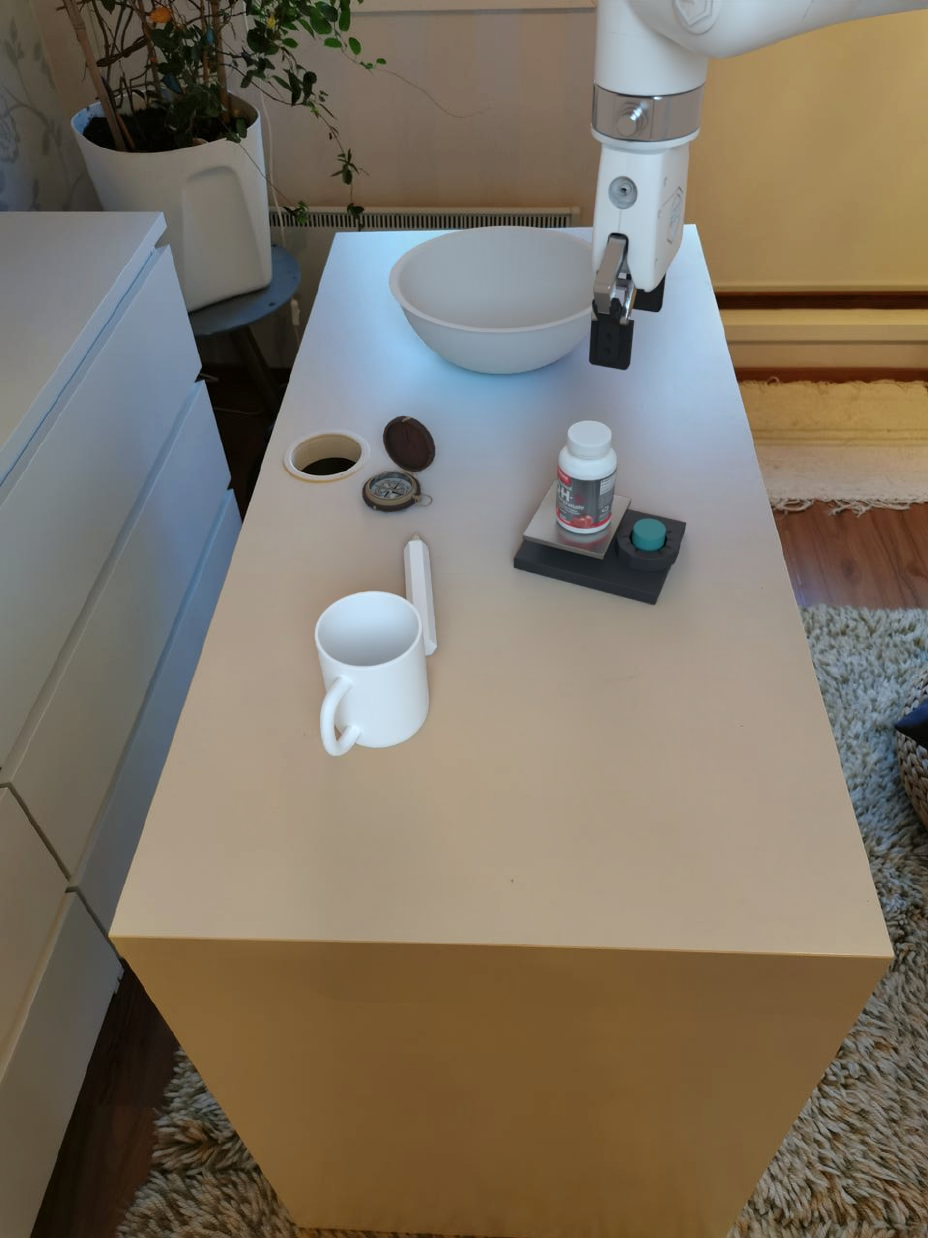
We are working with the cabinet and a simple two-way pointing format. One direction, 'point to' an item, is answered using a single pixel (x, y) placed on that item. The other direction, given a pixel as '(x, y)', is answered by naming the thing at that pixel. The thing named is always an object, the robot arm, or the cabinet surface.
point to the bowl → (497, 296)
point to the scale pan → (554, 535)
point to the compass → (401, 466)
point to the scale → (610, 561)
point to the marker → (420, 588)
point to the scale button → (648, 534)
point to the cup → (371, 671)
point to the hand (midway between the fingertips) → (626, 336)
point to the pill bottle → (586, 478)
